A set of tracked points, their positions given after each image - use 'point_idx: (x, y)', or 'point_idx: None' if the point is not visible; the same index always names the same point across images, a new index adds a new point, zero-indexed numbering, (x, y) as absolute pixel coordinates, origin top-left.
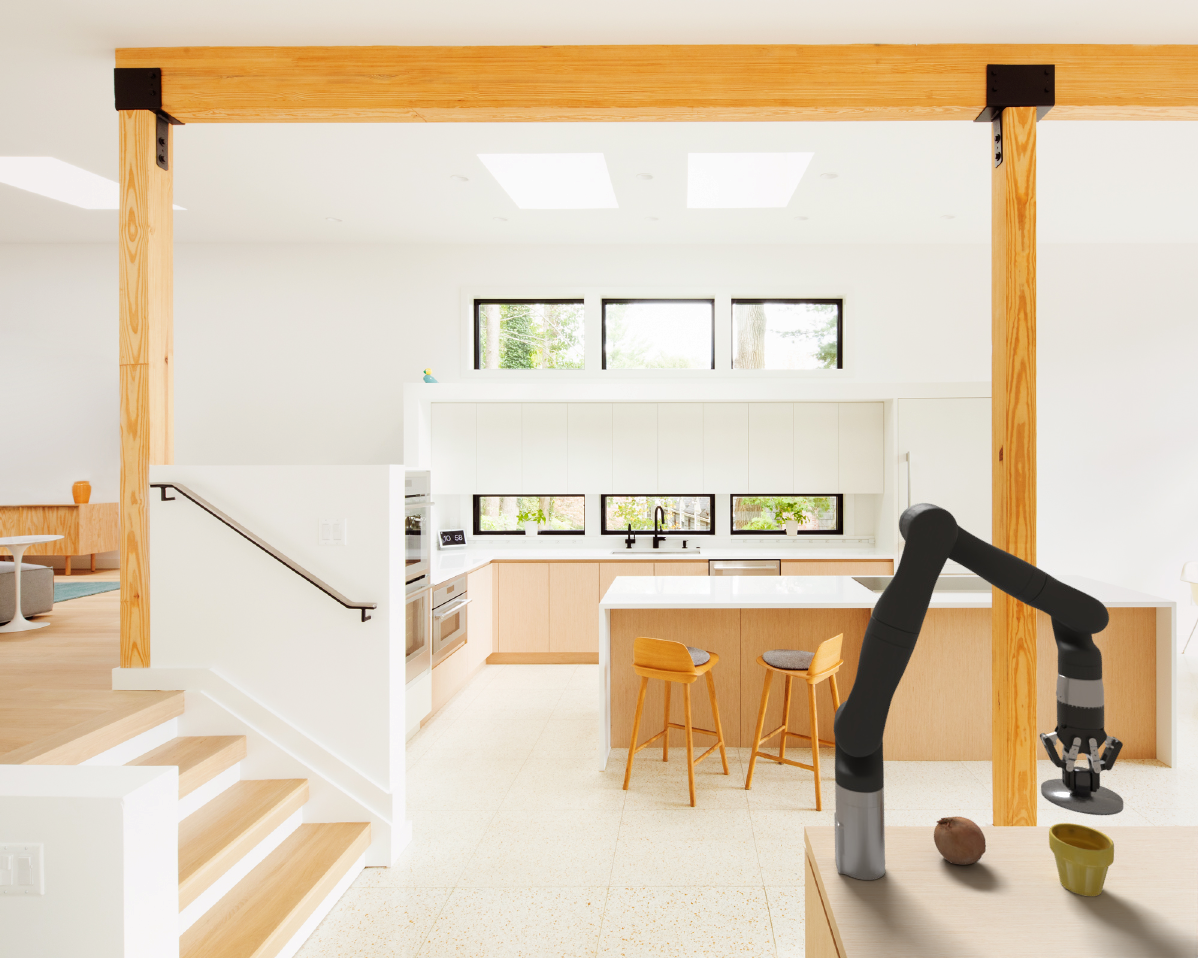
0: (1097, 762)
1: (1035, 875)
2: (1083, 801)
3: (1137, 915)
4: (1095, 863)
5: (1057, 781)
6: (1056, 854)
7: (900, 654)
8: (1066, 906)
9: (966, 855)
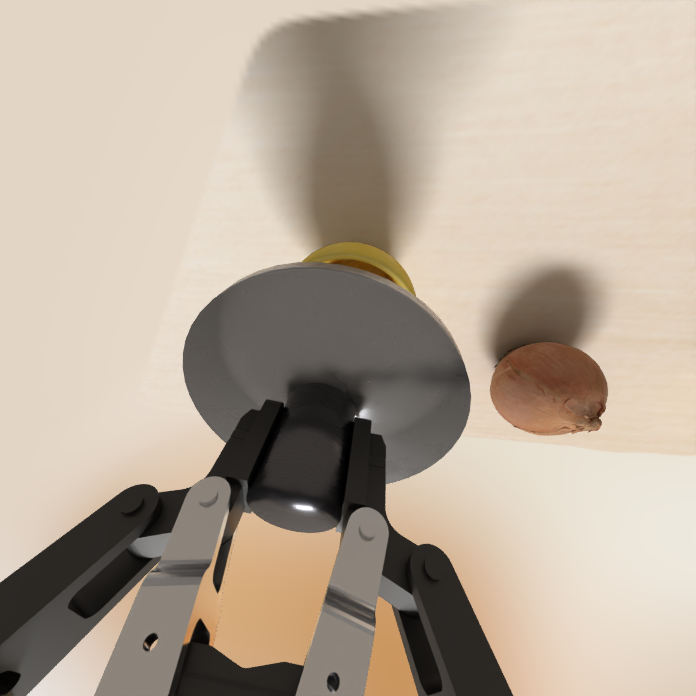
0: (178, 552)
1: None
2: (354, 352)
3: (306, 175)
4: (354, 243)
5: None
6: None
7: None
8: (432, 209)
9: (565, 346)
